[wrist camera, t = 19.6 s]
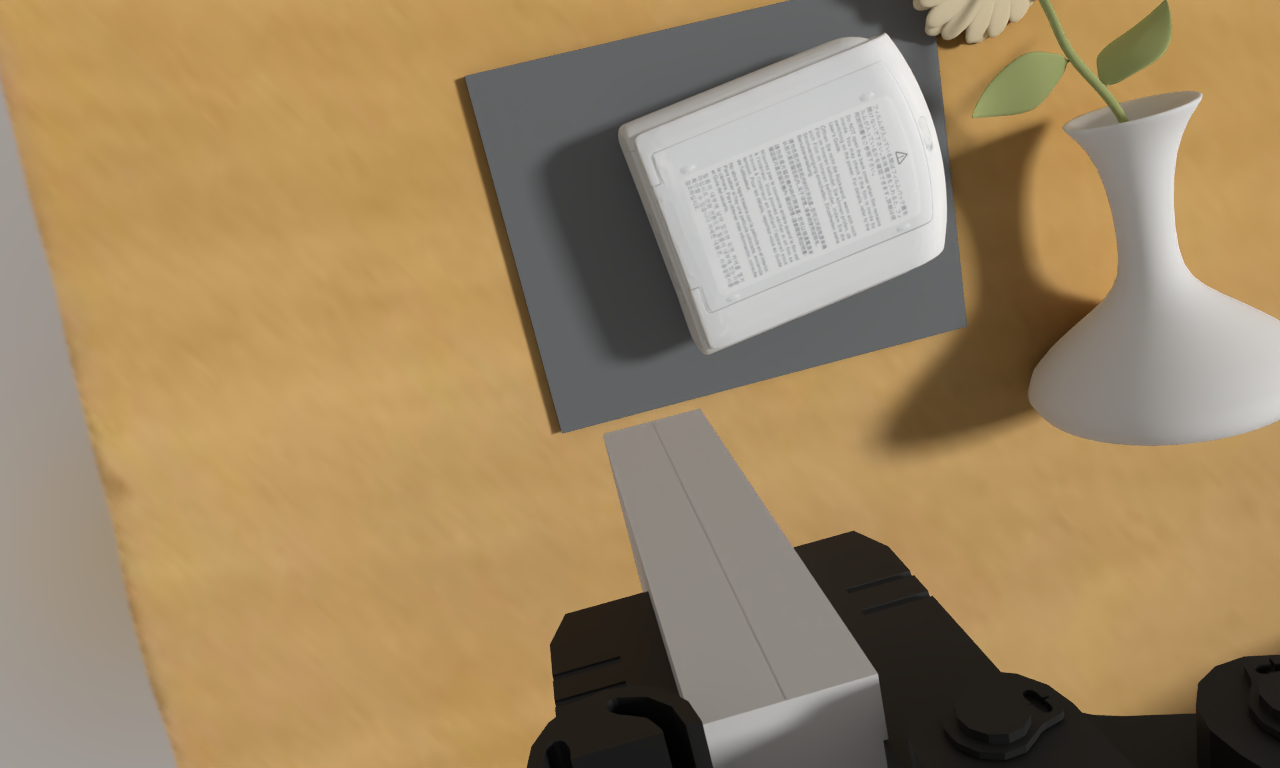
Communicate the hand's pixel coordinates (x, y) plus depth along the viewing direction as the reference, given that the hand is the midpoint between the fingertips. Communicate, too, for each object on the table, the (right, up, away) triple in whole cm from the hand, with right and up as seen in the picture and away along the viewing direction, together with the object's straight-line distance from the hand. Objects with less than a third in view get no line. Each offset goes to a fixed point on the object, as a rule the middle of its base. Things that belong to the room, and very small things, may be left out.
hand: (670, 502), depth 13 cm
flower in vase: (+23, 0, +27) cm, 35 cm away
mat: (+4, +10, +26) cm, 28 cm away
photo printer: (0, +7, +23) cm, 24 cm away
